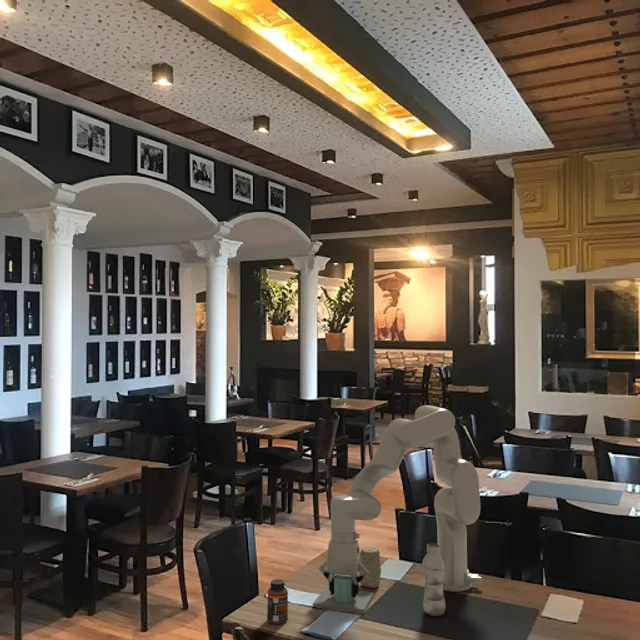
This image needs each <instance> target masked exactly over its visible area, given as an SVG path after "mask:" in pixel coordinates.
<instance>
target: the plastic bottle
mask: <svg viewBox="0 0 640 640" xmlns="http://www.w3.org/2000/svg"><path fill="white" fill-rule="evenodd" d="M439 553H440V550H439V545H438V543H428V544H427V545H426V555H425V556H424V557H423V560H422V570H423V571H422V572H423V576H424V595H423V596H424V597H423V601H422V602H423V603H422V605H423V611H424V612H425V613H426V614H427V615H429V616H432V617H438V616H439V617H441V616H442V615H444V613H445V611H446V607H447V606H446V599H445V595H444V594H445V593H444V590H443V574H444V561H443V559H442V557H441V556H440V555H439Z"/></svg>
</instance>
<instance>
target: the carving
mask: <svg viewBox="0 0 640 640" xmlns="http://www.w3.org/2000/svg"><path fill="white" fill-rule="evenodd" d="M380 553H381V551H380V549H379V548H378V547H373V546H365V547H363V548H361V550H360V559H361V564H362V565H363V566H364V567H365V568H366V569H367V570H368V571H369V572H368V574H367V575H366V576H365V577H364V578H363V579H362V580H361V581H360V582H359V583H360V585H362V586H364V587H367V588H377V587H379V586H380V582H381V574H382V566H381V564H382V562H381V554H380ZM361 574H362V571H361V570H360V571H358V576H360V575H361Z"/></svg>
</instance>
